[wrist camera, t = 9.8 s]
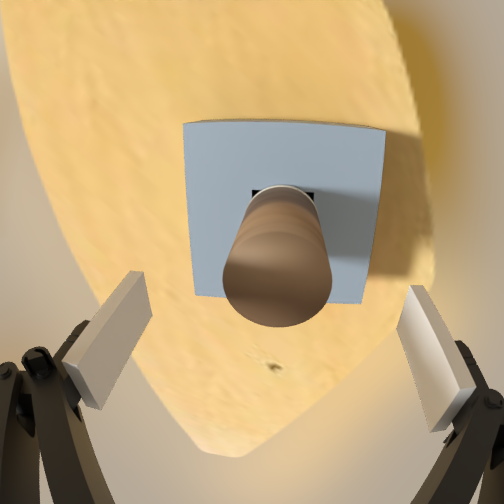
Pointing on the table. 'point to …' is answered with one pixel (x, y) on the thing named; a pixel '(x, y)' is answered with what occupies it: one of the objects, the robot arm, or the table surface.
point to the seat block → (288, 173)
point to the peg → (278, 260)
